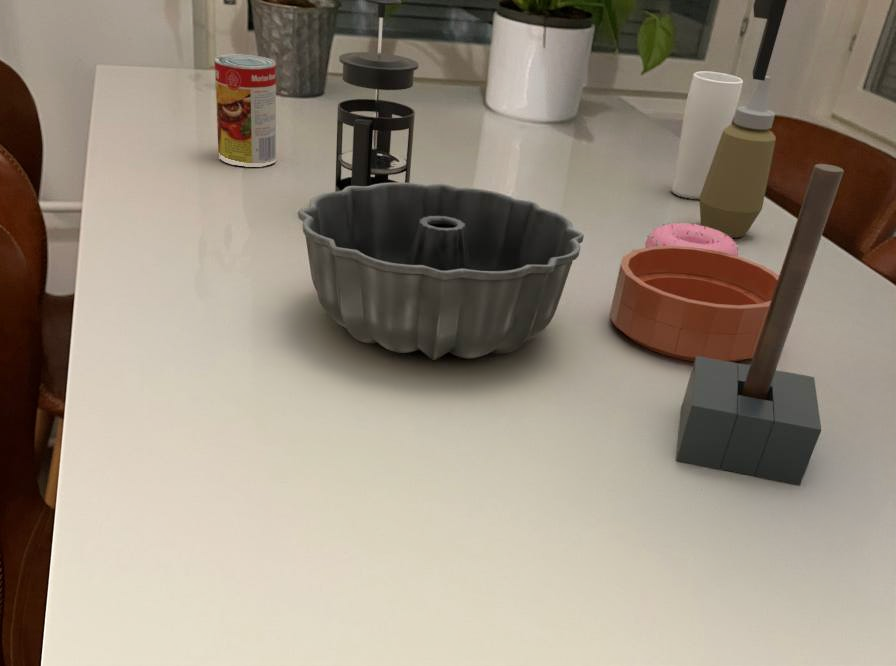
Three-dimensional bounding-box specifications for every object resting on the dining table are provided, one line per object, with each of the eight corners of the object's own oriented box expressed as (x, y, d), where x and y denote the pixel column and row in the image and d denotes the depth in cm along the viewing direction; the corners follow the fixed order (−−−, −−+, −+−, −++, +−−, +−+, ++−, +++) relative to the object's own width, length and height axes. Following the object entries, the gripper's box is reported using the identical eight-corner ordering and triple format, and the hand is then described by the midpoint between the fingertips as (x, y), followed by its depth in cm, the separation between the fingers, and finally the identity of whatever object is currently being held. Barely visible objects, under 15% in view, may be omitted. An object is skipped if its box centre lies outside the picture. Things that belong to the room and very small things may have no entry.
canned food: (239, 148, 140) (236, 51, 132) (287, 159, 137) (287, 61, 130) (206, 159, 134) (202, 59, 126) (255, 171, 132) (254, 69, 124)
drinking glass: (662, 196, 139) (690, 76, 129) (668, 184, 144) (695, 68, 134) (710, 205, 138) (742, 85, 128) (714, 193, 143) (745, 76, 133)
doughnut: (745, 269, 118) (756, 233, 116) (714, 293, 111) (724, 256, 108) (661, 245, 122) (670, 210, 120) (626, 267, 115) (634, 230, 112)
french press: (346, 197, 126) (354, -16, 111) (417, 209, 125) (435, -5, 110) (318, 224, 117) (323, -3, 103) (394, 237, 116) (410, 9, 101)
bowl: (768, 318, 107) (786, 262, 103) (772, 381, 94) (793, 320, 90) (616, 291, 109) (628, 235, 105) (600, 349, 96) (613, 288, 93)
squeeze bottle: (686, 218, 132) (725, 66, 120) (746, 224, 132) (790, 73, 121) (697, 238, 126) (739, 80, 114) (759, 245, 126) (807, 87, 114)
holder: (794, 429, 87) (814, 376, 83) (800, 485, 79) (821, 429, 76) (680, 408, 88) (696, 355, 85) (675, 460, 80) (691, 405, 77)
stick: (749, 441, 84) (842, 166, 70) (749, 452, 83) (845, 173, 68) (725, 437, 84) (814, 162, 70) (725, 448, 83) (815, 169, 69)
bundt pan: (267, 282, 102) (266, 180, 96) (496, 270, 111) (509, 175, 104) (346, 397, 84) (351, 280, 78) (612, 372, 93) (637, 265, 86)
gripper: (777, -386, 51) (672, 73, 65) (1293, -341, 48) (1069, 133, 62) (773, -362, 57) (677, 55, 71) (1234, -321, 54) (1041, 109, 67)
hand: (860, 92), depth 66 cm, fingers open, 13 cm apart
